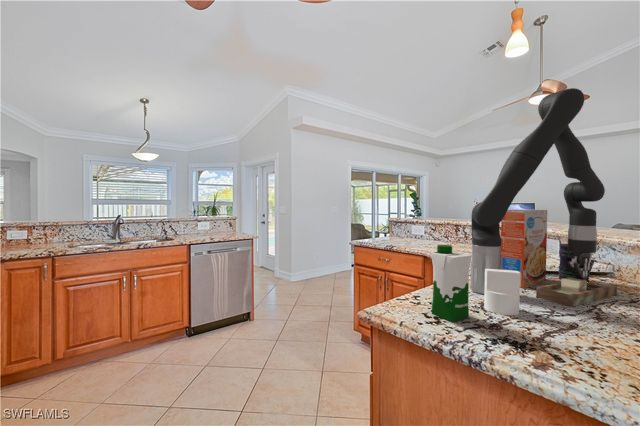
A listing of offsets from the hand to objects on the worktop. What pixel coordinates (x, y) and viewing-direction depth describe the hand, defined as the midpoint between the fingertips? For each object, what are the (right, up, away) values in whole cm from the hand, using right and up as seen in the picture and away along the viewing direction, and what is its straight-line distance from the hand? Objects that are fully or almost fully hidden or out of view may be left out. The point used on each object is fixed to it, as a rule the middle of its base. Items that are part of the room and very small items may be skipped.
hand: (580, 286), depth 101 cm
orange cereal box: (-8, -3, +18) cm, 19 cm away
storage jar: (+15, -3, +20) cm, 25 cm away
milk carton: (-55, -4, -19) cm, 59 cm away
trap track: (-2, -3, -1) cm, 4 cm away
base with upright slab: (-37, -4, -14) cm, 40 cm away
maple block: (-4, -1, -2) cm, 5 cm away
